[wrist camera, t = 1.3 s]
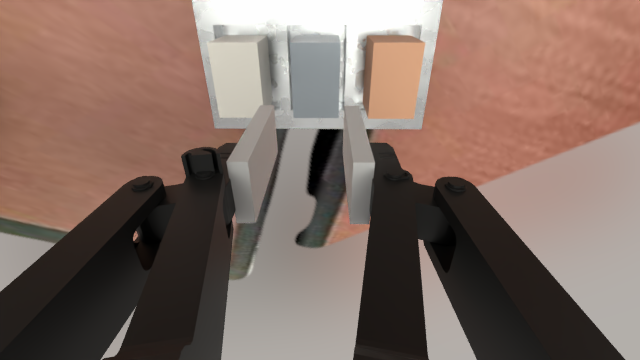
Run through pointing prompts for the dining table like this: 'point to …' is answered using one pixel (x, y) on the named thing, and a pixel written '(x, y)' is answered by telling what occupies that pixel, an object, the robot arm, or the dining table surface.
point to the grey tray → (319, 19)
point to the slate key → (315, 75)
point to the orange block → (392, 76)
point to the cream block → (240, 74)
